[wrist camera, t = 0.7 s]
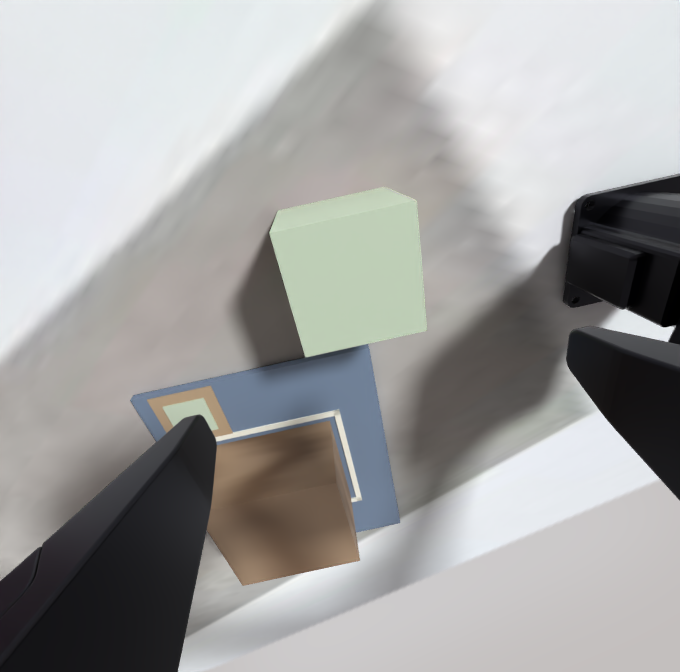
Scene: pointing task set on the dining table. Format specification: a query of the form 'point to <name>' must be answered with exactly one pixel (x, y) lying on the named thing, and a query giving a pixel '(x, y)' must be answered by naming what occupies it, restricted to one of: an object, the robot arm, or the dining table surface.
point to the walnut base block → (282, 504)
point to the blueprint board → (295, 417)
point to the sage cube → (352, 269)
